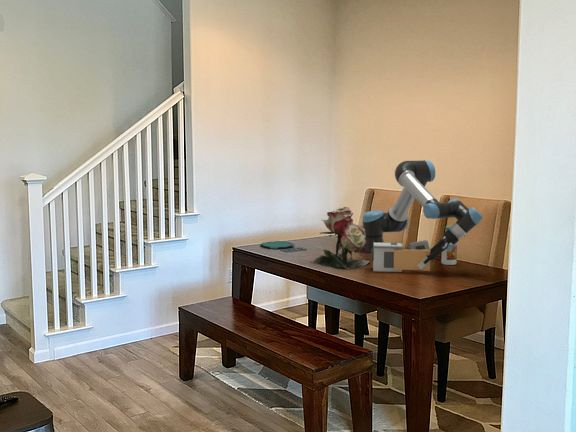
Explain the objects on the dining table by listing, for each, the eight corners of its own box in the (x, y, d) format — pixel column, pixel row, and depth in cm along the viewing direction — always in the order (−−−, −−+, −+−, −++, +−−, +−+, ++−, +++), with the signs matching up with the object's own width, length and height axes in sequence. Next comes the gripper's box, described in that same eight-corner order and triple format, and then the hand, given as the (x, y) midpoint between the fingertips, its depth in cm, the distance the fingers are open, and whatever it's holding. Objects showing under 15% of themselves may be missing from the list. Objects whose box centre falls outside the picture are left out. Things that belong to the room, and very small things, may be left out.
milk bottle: (440, 264, 317) (441, 227, 314) (442, 262, 324) (443, 225, 321) (455, 265, 314) (457, 227, 311) (456, 263, 321) (458, 225, 319)
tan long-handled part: (429, 269, 298) (429, 249, 296) (429, 270, 295) (430, 250, 293) (393, 268, 300) (393, 248, 298) (393, 269, 297) (394, 249, 295)
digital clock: (414, 264, 319) (414, 244, 317) (402, 261, 326) (403, 241, 325) (436, 261, 327) (437, 241, 326) (424, 258, 335) (425, 239, 333)
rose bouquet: (353, 271, 301) (354, 211, 297) (309, 263, 320) (309, 207, 317) (382, 263, 320) (383, 207, 316) (338, 256, 339) (339, 203, 336)
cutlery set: (282, 243, 384) (282, 239, 384) (309, 251, 359) (309, 247, 359) (255, 246, 373) (255, 242, 373) (281, 254, 348) (281, 250, 348)
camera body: (400, 268, 308) (401, 241, 306) (402, 272, 297) (402, 244, 296) (371, 267, 310) (371, 240, 308) (371, 271, 299) (372, 244, 297)
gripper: (462, 242, 284) (425, 275, 289) (457, 236, 300) (422, 268, 305) (451, 231, 284) (414, 264, 289) (446, 226, 300) (411, 258, 305)
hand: (418, 266), depth 297 cm, fingers closed on tan long-handled part, 3 cm apart
